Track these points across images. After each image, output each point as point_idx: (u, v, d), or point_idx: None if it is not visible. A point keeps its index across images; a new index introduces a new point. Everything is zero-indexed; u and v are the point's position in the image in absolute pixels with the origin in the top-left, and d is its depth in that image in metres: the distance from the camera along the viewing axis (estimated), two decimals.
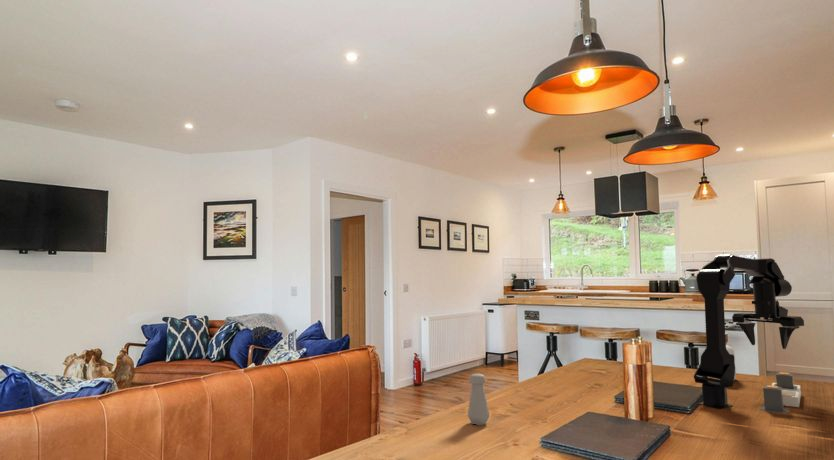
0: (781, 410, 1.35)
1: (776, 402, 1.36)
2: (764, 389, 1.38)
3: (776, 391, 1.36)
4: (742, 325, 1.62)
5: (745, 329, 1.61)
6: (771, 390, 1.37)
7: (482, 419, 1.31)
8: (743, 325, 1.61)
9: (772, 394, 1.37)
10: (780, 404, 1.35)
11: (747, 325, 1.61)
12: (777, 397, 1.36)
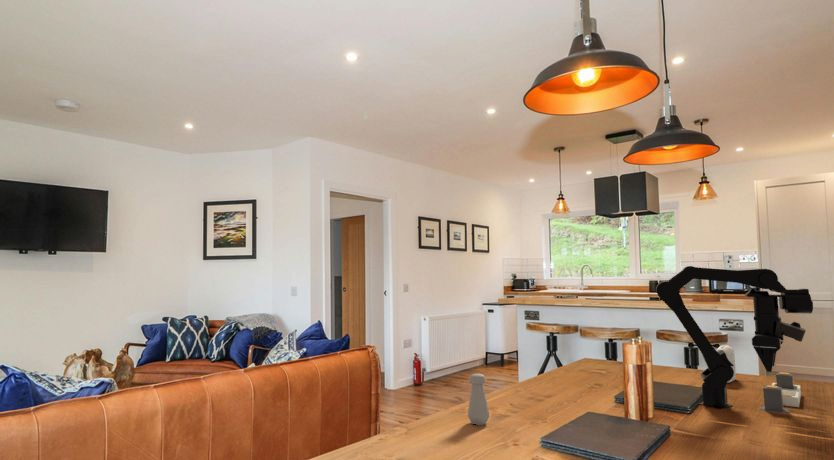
0: (781, 410, 1.35)
1: (776, 402, 1.36)
2: (764, 389, 1.38)
3: (776, 391, 1.36)
4: None
5: None
6: (771, 390, 1.37)
7: (482, 419, 1.31)
8: None
9: (772, 394, 1.37)
10: (780, 404, 1.35)
11: None
12: (777, 397, 1.36)
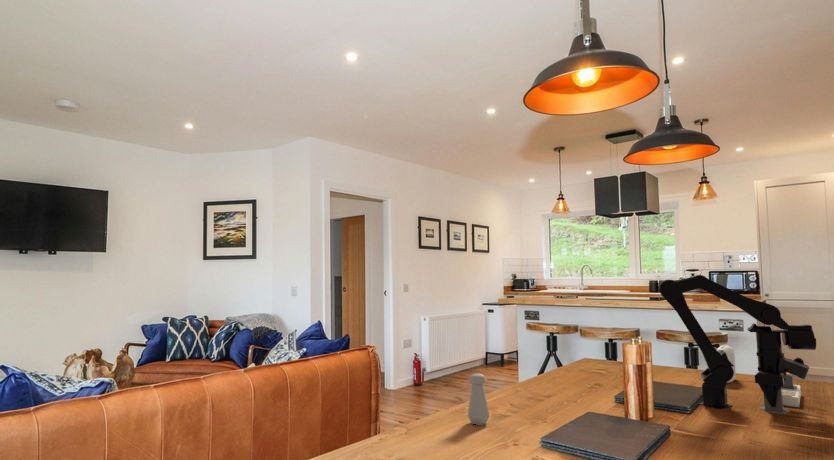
0: (781, 410, 1.35)
1: (776, 402, 1.36)
2: None
3: None
4: None
5: None
6: None
7: (482, 419, 1.31)
8: None
9: None
10: (780, 404, 1.35)
11: None
12: (777, 397, 1.36)
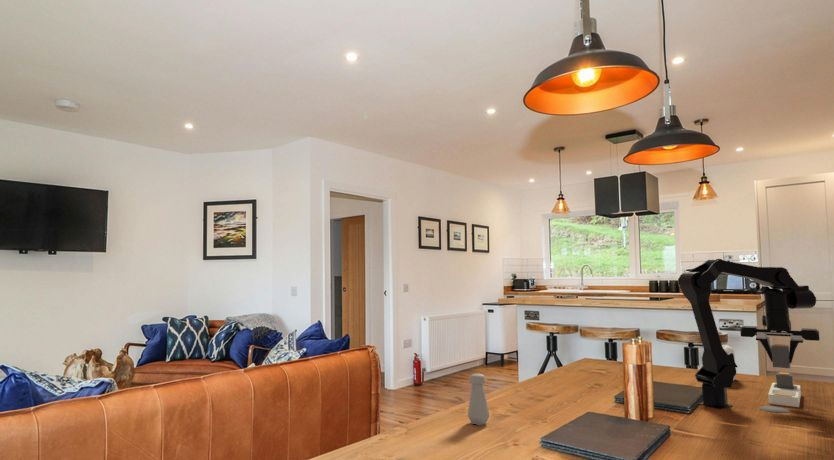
0: None
1: None
2: (788, 348, 1.44)
3: (788, 347, 1.46)
4: (764, 340, 1.47)
5: (767, 345, 1.47)
6: (788, 347, 1.45)
7: (482, 419, 1.31)
8: (765, 340, 1.46)
9: (788, 351, 1.45)
10: None
11: (768, 340, 1.47)
12: None
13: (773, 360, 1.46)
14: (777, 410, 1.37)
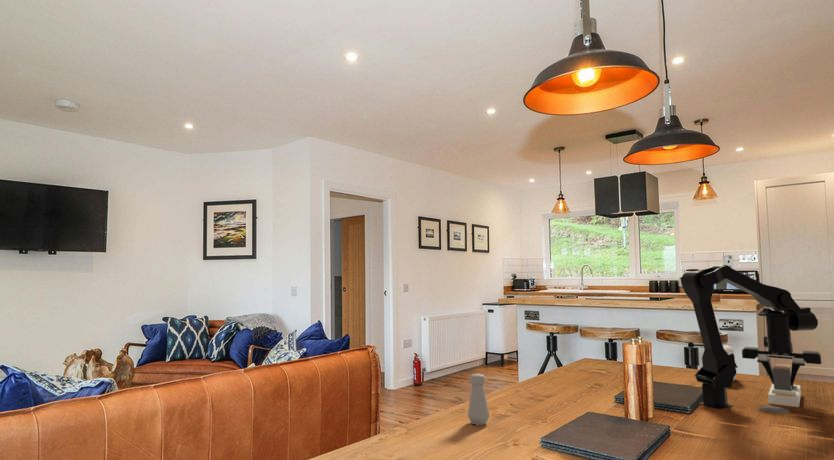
0: (791, 386, 1.46)
1: None
2: (789, 371, 1.44)
3: None
4: (765, 363, 1.46)
5: (768, 367, 1.46)
6: None
7: (482, 419, 1.31)
8: (767, 363, 1.46)
9: (790, 374, 1.45)
10: None
11: (769, 362, 1.47)
12: (790, 375, 1.46)
13: (774, 382, 1.45)
14: (777, 410, 1.37)
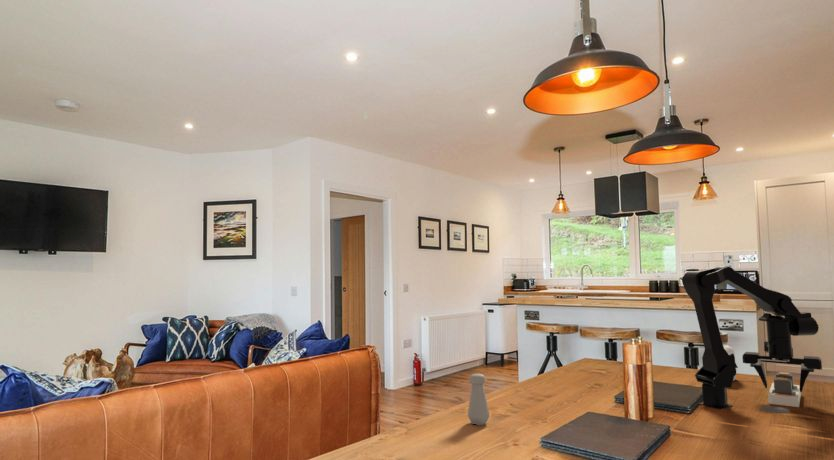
0: None
1: (792, 392, 1.45)
2: (790, 382, 1.43)
3: (791, 381, 1.45)
4: (758, 367, 1.47)
5: (761, 371, 1.47)
6: (791, 381, 1.44)
7: (482, 419, 1.31)
8: (759, 367, 1.47)
9: (791, 385, 1.45)
10: (792, 392, 1.46)
11: (762, 367, 1.48)
12: (791, 387, 1.45)
13: None
14: (777, 410, 1.37)
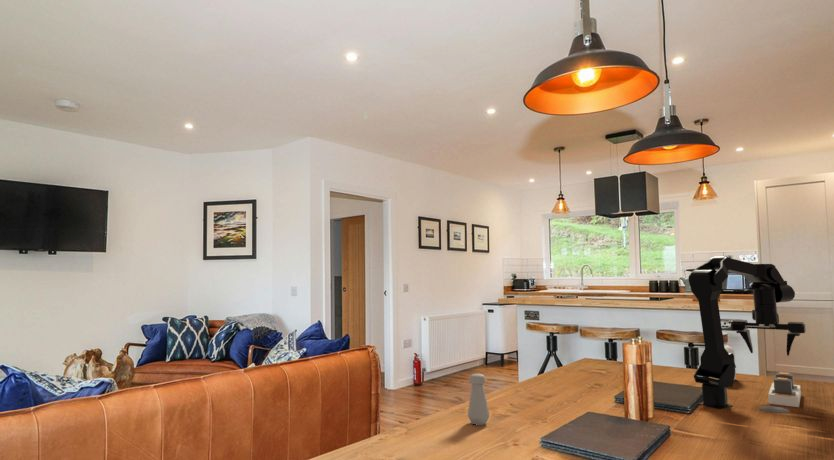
0: None
1: (792, 392, 1.45)
2: (790, 382, 1.43)
3: (791, 381, 1.45)
4: (743, 333, 1.56)
5: (746, 337, 1.56)
6: (791, 381, 1.44)
7: (482, 419, 1.31)
8: (745, 333, 1.56)
9: (791, 385, 1.45)
10: (792, 392, 1.46)
11: (747, 333, 1.56)
12: (791, 387, 1.45)
13: None
14: (777, 410, 1.37)
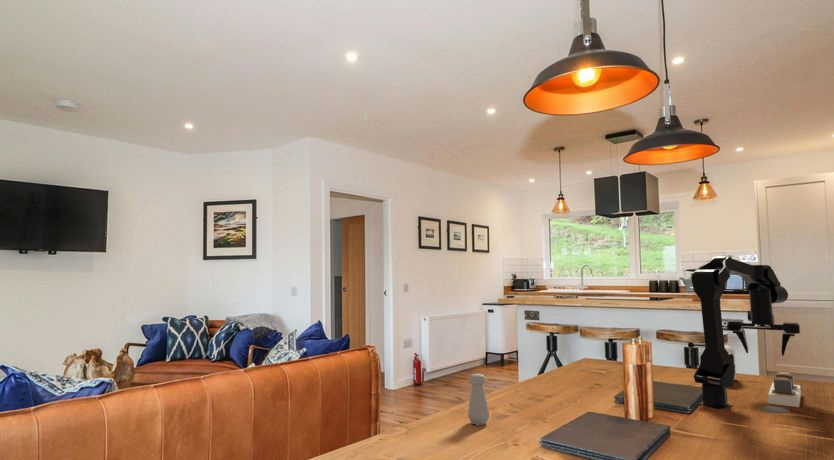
0: None
1: (792, 392, 1.45)
2: (790, 382, 1.43)
3: (791, 381, 1.45)
4: (740, 333, 1.58)
5: (742, 337, 1.58)
6: (791, 381, 1.44)
7: (482, 419, 1.31)
8: (741, 333, 1.58)
9: (791, 385, 1.45)
10: (792, 392, 1.46)
11: (743, 333, 1.58)
12: (791, 387, 1.45)
13: None
14: (777, 410, 1.37)
